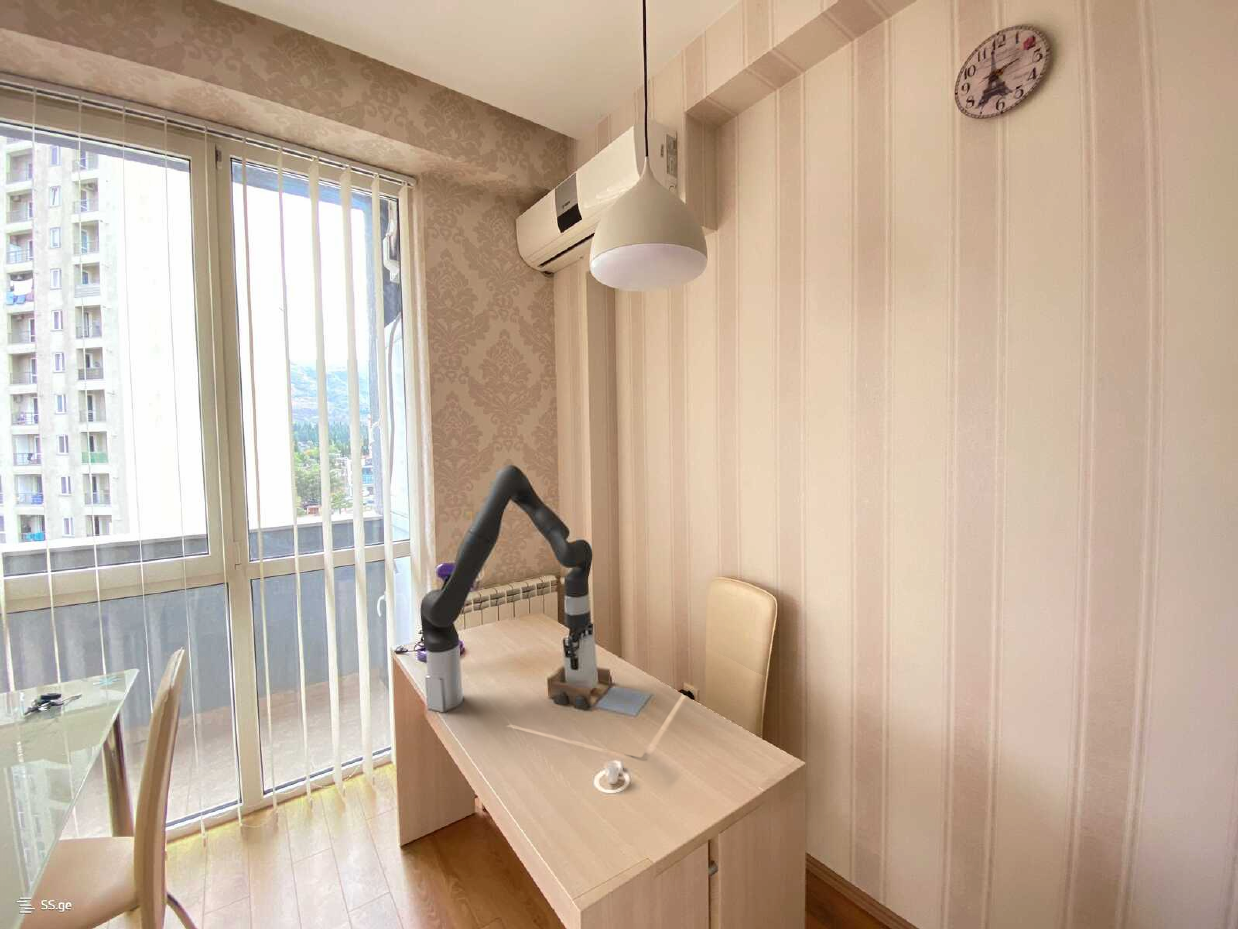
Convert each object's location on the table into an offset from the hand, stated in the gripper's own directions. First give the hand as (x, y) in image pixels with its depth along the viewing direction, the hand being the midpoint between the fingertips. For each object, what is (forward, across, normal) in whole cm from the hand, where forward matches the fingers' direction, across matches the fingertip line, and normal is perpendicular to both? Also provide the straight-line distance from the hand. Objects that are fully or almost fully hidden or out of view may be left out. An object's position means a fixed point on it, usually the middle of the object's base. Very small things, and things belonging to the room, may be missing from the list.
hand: (580, 664), depth 149 cm
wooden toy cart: (+9, 0, +1) cm, 9 cm away
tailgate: (+8, 0, +8) cm, 12 cm away
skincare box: (+7, 0, 0) cm, 7 cm away
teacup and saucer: (+10, +27, +27) cm, 40 cm away
